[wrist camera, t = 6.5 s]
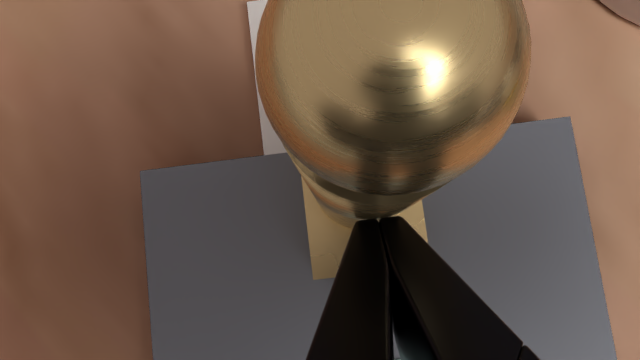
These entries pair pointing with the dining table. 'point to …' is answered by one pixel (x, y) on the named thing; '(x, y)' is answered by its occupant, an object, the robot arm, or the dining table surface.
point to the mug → (625, 9)
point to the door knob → (386, 102)
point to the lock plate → (311, 295)
